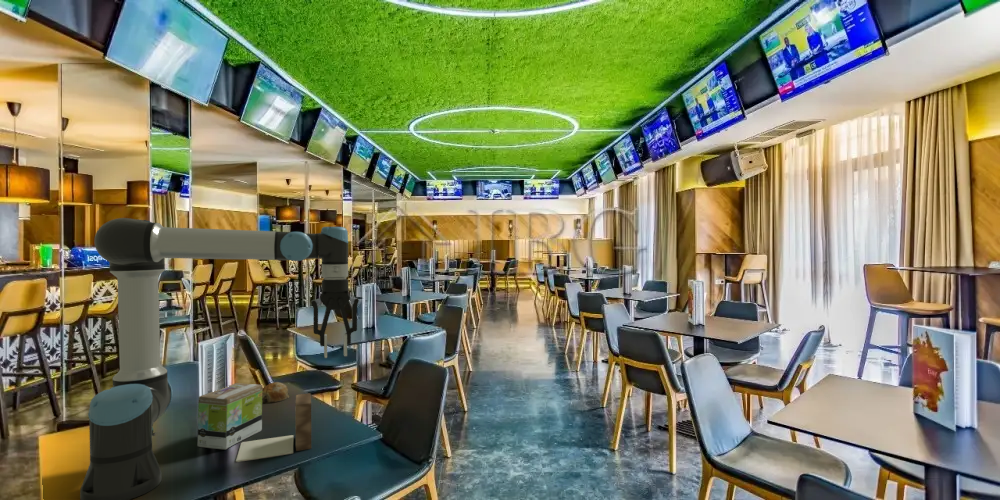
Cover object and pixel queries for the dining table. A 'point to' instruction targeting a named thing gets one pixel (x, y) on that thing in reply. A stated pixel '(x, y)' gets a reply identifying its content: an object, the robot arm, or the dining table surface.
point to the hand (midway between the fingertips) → (335, 355)
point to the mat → (265, 448)
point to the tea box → (229, 415)
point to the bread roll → (274, 392)
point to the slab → (303, 421)
